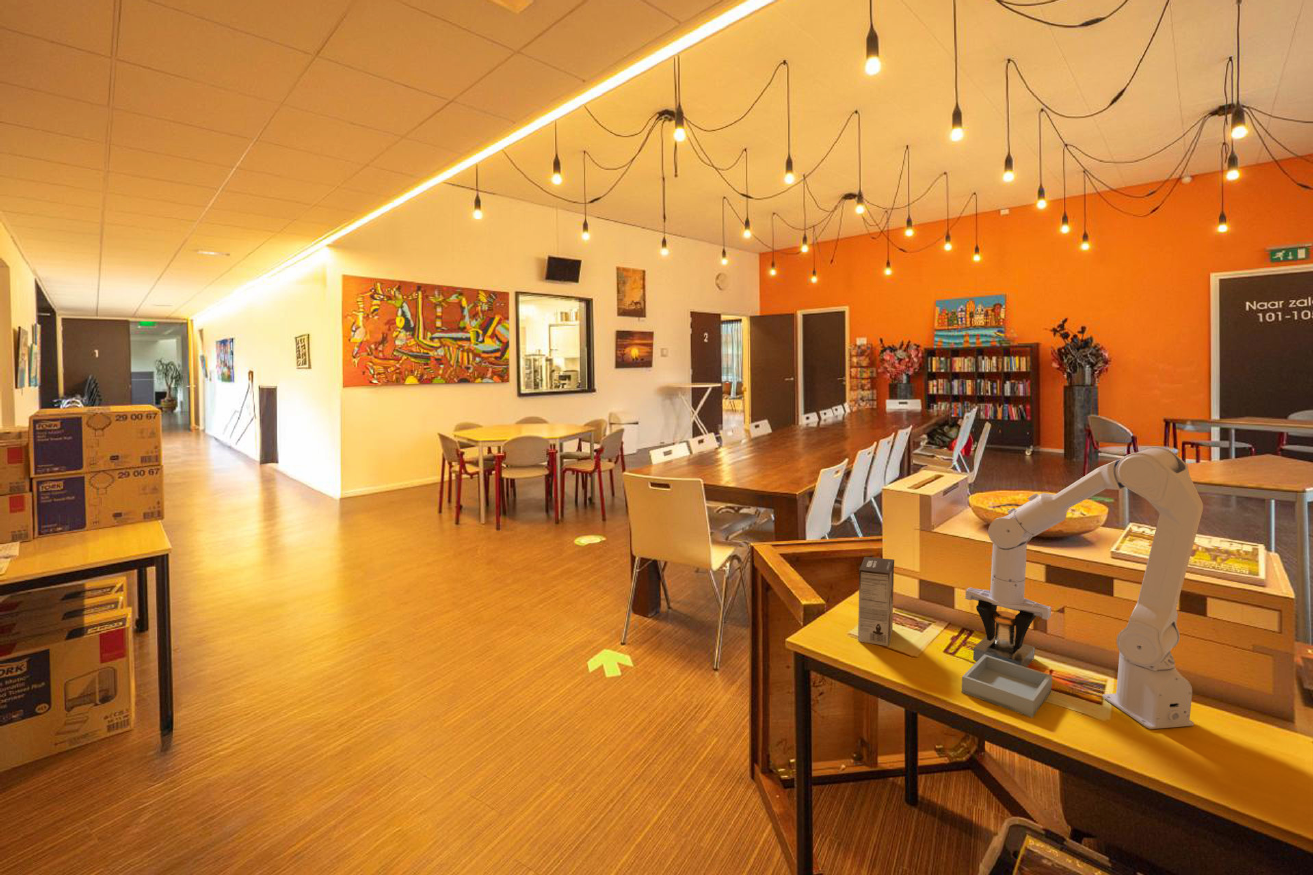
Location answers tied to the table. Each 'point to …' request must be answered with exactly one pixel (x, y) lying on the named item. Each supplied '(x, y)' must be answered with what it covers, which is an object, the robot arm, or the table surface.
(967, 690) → the tray
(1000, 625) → the pin
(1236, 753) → the table surface
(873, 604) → the coffee box
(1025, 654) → the grey square socket block
